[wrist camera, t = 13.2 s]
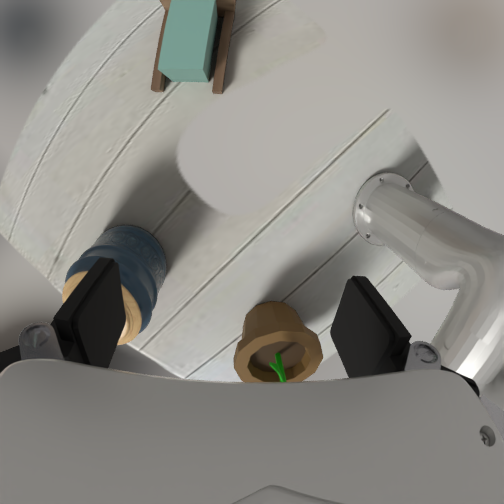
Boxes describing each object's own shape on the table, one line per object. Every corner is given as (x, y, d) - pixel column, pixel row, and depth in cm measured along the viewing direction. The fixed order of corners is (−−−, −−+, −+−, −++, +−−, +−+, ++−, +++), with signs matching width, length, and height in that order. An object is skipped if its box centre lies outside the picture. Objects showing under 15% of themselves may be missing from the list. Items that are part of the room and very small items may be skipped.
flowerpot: (216, 316, 48) (215, 480, 21) (286, 276, 46) (343, 442, 19) (258, 359, 54) (278, 496, 27) (320, 327, 52) (373, 464, 25)
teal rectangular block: (218, 22, 28) (215, -4, 20) (208, 82, 32) (202, 69, 24) (183, 21, 27) (172, -3, 19) (173, 81, 32) (157, 69, 23)
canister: (176, 235, 41) (147, 303, 25) (161, 301, 46) (138, 378, 30) (100, 213, 39) (40, 266, 23) (94, 280, 43) (51, 347, 28)
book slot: (235, 11, 27) (236, -13, 20) (221, 93, 33) (220, 85, 26) (170, 10, 26) (158, -13, 19) (155, 91, 32) (138, 84, 25)
